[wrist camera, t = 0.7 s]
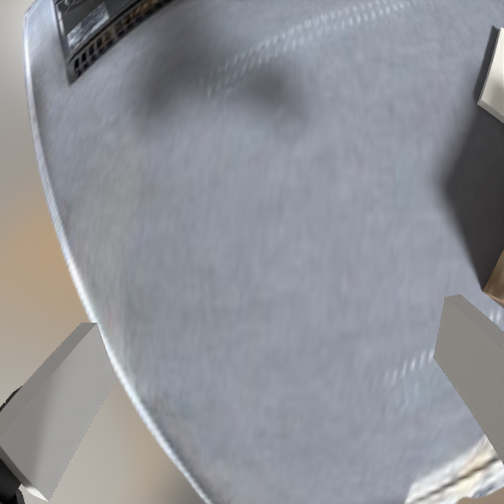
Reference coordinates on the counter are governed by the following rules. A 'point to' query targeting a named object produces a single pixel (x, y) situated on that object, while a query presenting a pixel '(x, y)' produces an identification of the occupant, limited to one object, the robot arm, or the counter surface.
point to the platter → (495, 81)
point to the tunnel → (496, 282)
